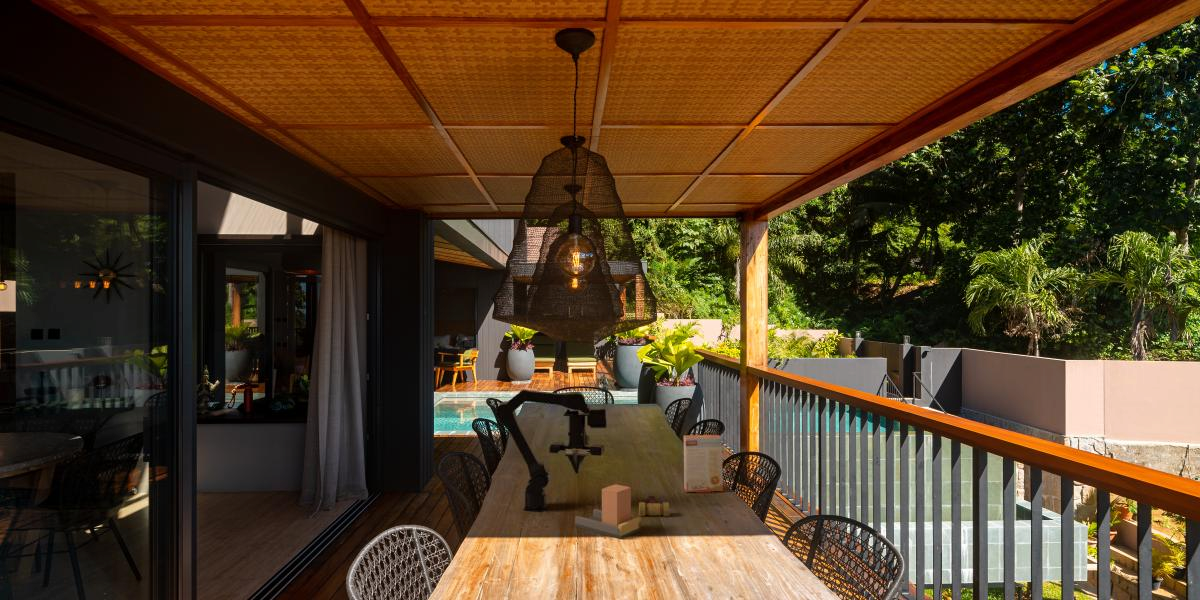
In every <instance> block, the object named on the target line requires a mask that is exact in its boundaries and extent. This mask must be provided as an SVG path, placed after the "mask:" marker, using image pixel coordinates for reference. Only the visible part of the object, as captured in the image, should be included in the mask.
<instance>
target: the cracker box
mask: <svg viewBox="0 0 1200 600" xmlns="http://www.w3.org/2000/svg"><path fill="white" fill-rule="evenodd" d="M683 484H684V486H683V487H684V488H683V490H684V491H685V493H687V492H696V493H714V492H713V491H724V490H723V487H724V486H723V437H722V436H721V435H720V434H691V435H690V434H688V435H687V434H685V435H683ZM711 491H712V492H711Z"/></svg>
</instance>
